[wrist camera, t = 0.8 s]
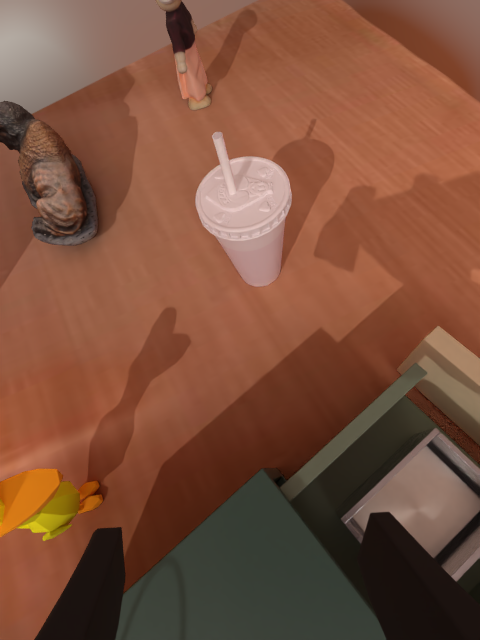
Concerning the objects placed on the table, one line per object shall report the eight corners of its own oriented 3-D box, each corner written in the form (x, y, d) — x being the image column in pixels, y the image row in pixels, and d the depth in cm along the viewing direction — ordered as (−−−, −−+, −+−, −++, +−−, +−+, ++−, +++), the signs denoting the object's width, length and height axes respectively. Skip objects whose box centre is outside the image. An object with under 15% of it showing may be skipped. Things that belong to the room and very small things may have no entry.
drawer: (444, 324, 26) (486, 281, 20) (620, 463, 21) (748, 461, 15) (245, 507, 24) (223, 521, 17) (389, 711, 19) (428, 829, 13)
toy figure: (123, 451, 27) (0, 442, 16) (138, 497, 26) (14, 519, 15) (46, 495, 27) (-130, 515, 16) (57, 544, 26) (-129, 601, 15)
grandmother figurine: (182, 83, 44) (137, -53, 32) (212, 75, 43) (177, -66, 32) (186, 125, 41) (137, -9, 29) (218, 117, 40) (181, -23, 29)
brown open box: (484, 502, 20) (524, 510, 17) (399, 589, 20) (421, 619, 16) (414, 433, 22) (435, 427, 19) (334, 510, 22) (340, 519, 18)
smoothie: (225, 243, 33) (173, 104, 21) (293, 234, 32) (283, 83, 20) (225, 303, 31) (166, 188, 18) (299, 296, 30) (292, 169, 17)
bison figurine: (117, 237, 36) (52, 159, 27) (56, 268, 36) (-31, 200, 27) (90, 165, 41) (27, 79, 32) (36, 192, 41) (-43, 113, 32)
